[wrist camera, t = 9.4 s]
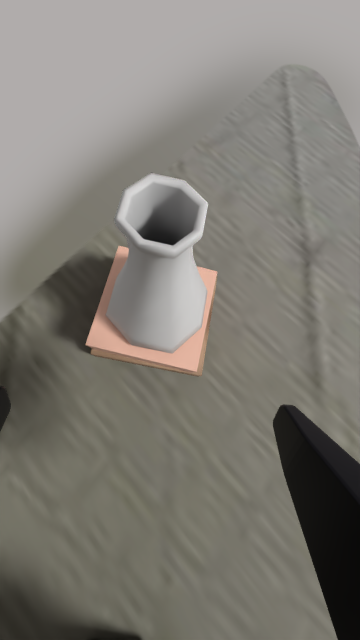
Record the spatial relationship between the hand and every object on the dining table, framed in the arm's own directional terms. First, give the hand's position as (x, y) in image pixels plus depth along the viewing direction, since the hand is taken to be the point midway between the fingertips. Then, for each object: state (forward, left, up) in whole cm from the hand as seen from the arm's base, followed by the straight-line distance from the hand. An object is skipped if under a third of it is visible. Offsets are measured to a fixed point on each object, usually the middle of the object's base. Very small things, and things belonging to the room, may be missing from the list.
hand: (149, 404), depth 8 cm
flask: (+6, +1, -9) cm, 11 cm away
